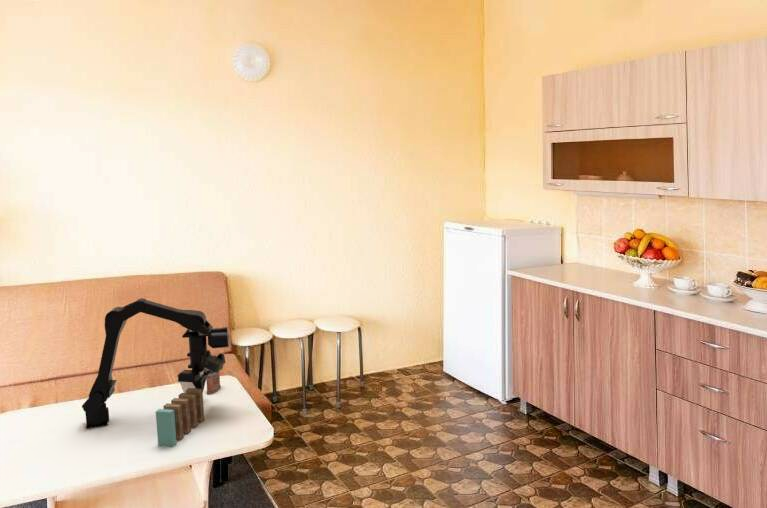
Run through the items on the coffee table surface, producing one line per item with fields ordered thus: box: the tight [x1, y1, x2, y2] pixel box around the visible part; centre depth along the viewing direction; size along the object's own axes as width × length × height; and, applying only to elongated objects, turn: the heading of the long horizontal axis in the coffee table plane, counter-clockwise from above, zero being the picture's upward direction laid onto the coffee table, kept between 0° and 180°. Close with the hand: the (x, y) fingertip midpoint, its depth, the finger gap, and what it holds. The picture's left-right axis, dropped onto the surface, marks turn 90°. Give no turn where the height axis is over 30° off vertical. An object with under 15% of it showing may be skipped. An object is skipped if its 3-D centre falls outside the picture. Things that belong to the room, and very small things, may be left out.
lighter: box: [206, 369, 222, 396], centre depth 230 cm, size 8×3×10 cm, turn 168°
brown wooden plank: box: [178, 392, 199, 429], centre depth 197 cm, size 2×5×11 cm, turn 79°
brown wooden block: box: [170, 397, 192, 435], centre depth 193 cm, size 2×5×11 cm, turn 79°
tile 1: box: [186, 388, 205, 424], centre depth 202 cm, size 2×5×11 cm, turn 79°
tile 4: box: [162, 403, 185, 441], centre depth 189 cm, size 2×5×11 cm, turn 79°
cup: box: [176, 377, 195, 393], centre depth 218 cm, size 9×9×10 cm
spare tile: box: [155, 408, 177, 448], centre depth 184 cm, size 2×5×11 cm, turn 78°
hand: (200, 393), depth 206 cm, fingers closed
